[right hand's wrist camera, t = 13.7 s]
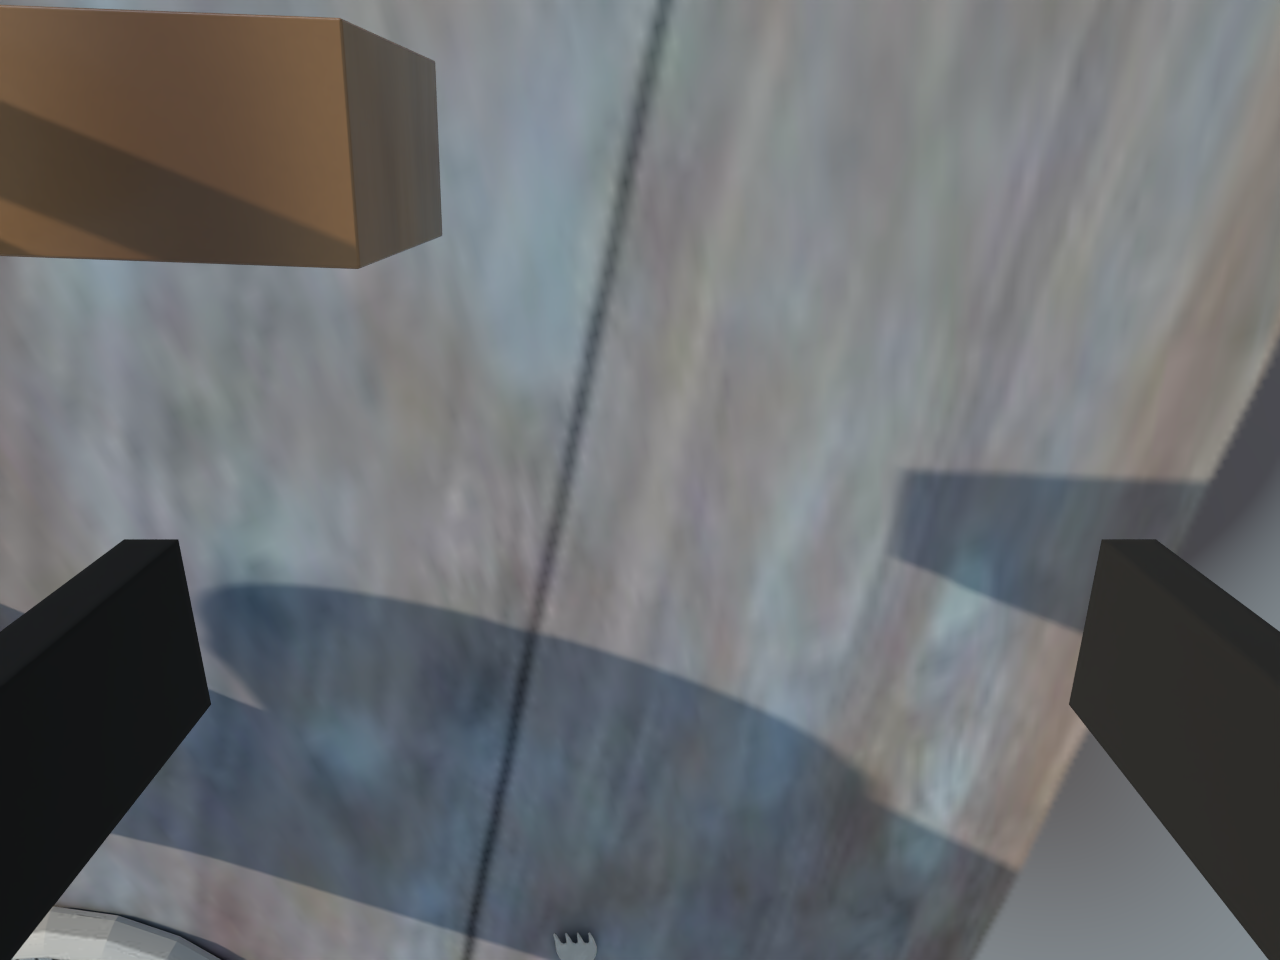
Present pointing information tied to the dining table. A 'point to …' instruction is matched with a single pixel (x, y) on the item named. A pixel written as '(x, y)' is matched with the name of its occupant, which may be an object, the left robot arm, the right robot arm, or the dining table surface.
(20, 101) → the bar
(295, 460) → the dining table surface
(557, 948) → the fork
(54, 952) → the wall clock
